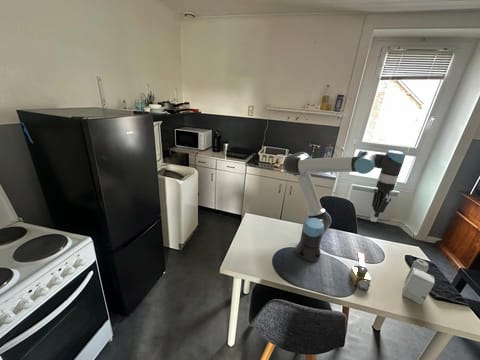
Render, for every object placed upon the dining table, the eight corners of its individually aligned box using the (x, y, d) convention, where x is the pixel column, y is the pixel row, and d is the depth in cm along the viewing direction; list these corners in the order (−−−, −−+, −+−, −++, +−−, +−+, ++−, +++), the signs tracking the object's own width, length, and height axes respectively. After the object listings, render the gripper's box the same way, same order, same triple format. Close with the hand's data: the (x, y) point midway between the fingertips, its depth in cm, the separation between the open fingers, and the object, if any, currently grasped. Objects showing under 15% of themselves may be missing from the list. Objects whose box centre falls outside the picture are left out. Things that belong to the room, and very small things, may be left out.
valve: (370, 292, 105) (374, 283, 103) (356, 289, 106) (359, 280, 104) (360, 272, 117) (363, 264, 115) (348, 270, 118) (350, 262, 115)
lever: (366, 276, 106) (368, 273, 106) (357, 273, 108) (358, 270, 107) (364, 257, 120) (365, 254, 119) (355, 254, 121) (356, 251, 120)
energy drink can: (414, 289, 108) (425, 268, 102) (402, 280, 113) (412, 259, 107) (421, 286, 110) (432, 264, 104) (409, 277, 115) (419, 256, 109)
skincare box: (401, 295, 104) (412, 273, 99) (402, 287, 108) (412, 266, 103) (422, 305, 99) (435, 283, 94) (422, 297, 103) (434, 275, 98)
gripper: (402, 187, 97) (386, 228, 106) (388, 177, 109) (375, 215, 118) (385, 185, 98) (371, 226, 107) (373, 176, 110) (361, 213, 119)
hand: (373, 220), depth 112 cm, fingers closed
